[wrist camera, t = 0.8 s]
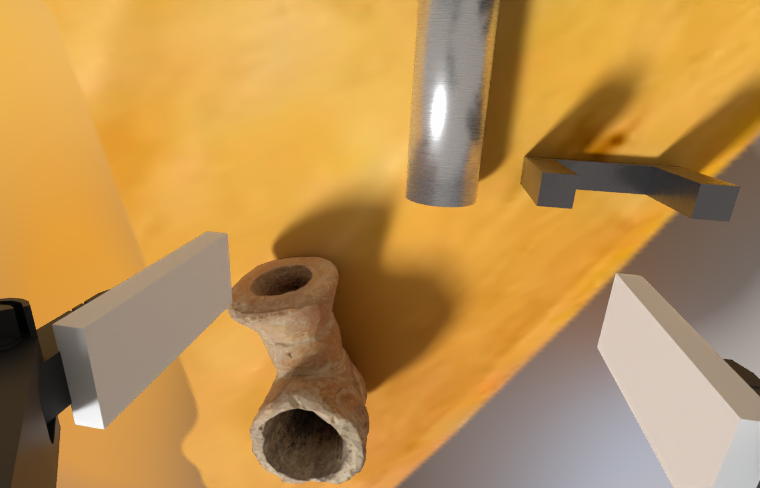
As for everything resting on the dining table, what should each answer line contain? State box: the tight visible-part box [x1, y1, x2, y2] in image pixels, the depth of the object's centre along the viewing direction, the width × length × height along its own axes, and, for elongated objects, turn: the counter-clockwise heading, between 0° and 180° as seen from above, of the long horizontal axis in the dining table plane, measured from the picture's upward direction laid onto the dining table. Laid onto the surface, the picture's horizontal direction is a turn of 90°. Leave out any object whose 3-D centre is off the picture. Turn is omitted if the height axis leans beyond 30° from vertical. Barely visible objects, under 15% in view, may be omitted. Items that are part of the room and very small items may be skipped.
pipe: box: [226, 256, 369, 484], centre depth 35 cm, size 9×16×10 cm, turn 17°
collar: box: [520, 156, 740, 221], centre depth 29 cm, size 2×10×7 cm, turn 87°
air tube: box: [405, 0, 500, 207], centre depth 29 cm, size 18×5×5 cm, turn 177°
